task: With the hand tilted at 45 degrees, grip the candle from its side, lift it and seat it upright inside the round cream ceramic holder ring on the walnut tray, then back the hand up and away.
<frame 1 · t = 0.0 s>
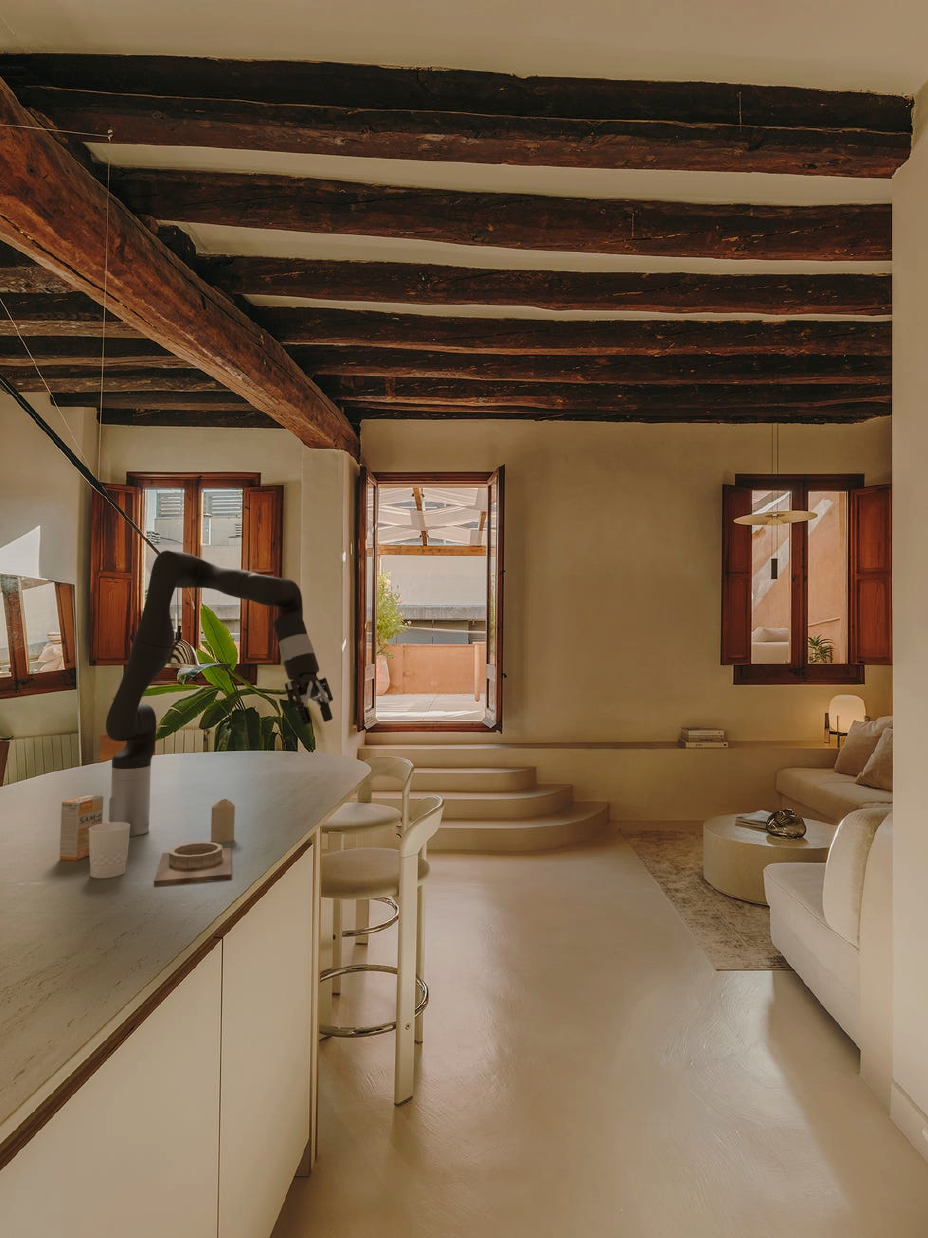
hand: (318, 722, 162), 31 cm above the counter, tool tilted 20°, fingers open, 8 cm apart
supplement box: (81, 856, 162), on the counter
candle: (222, 841, 176), on the counter
white cup: (108, 874, 149), on the counter
candle holder tray: (195, 867, 154), on the counter
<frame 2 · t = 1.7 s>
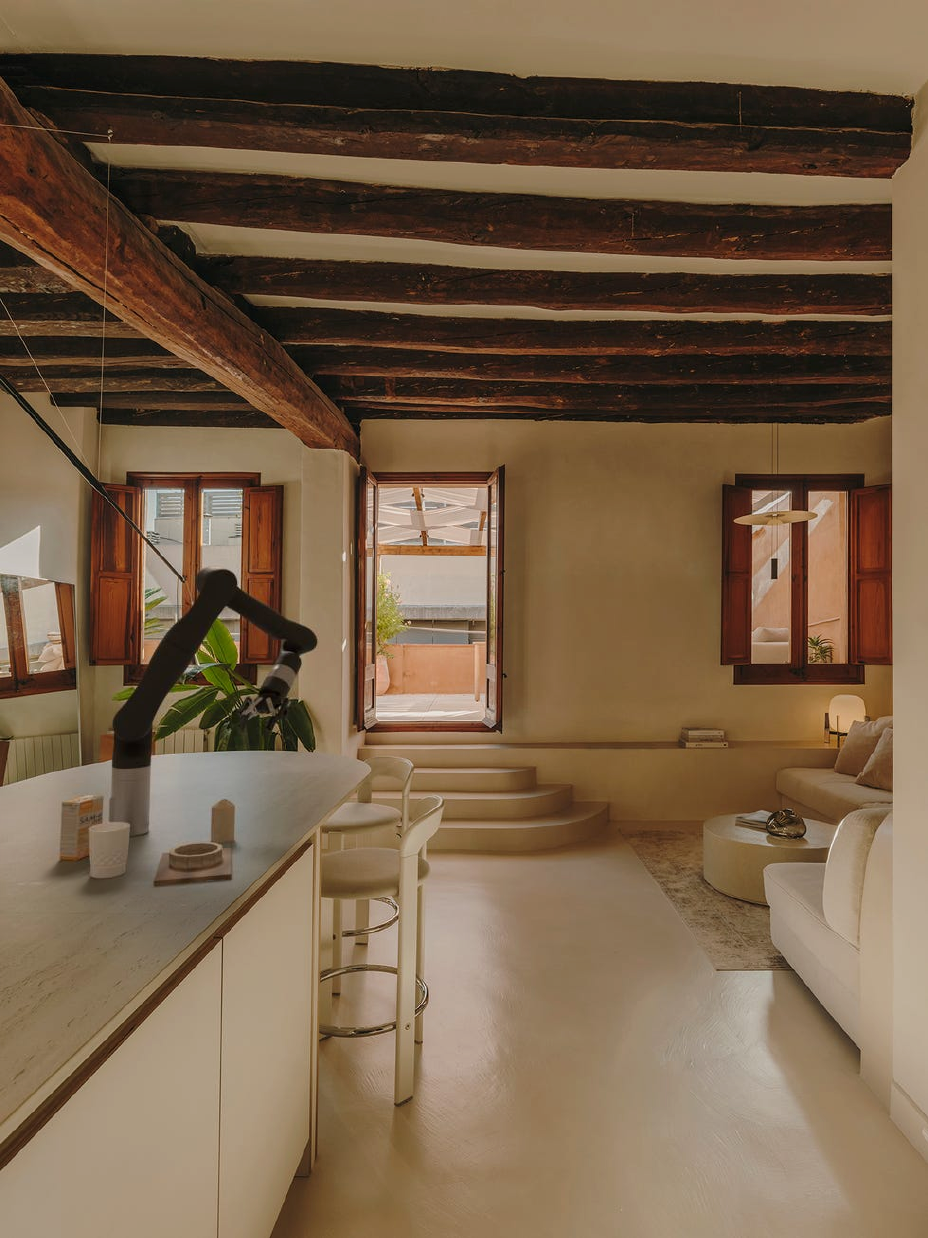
hand: (253, 729, 188), 26 cm above the counter, tool tilted 45°, fingers open, 8 cm apart
nothing on the counter moved.
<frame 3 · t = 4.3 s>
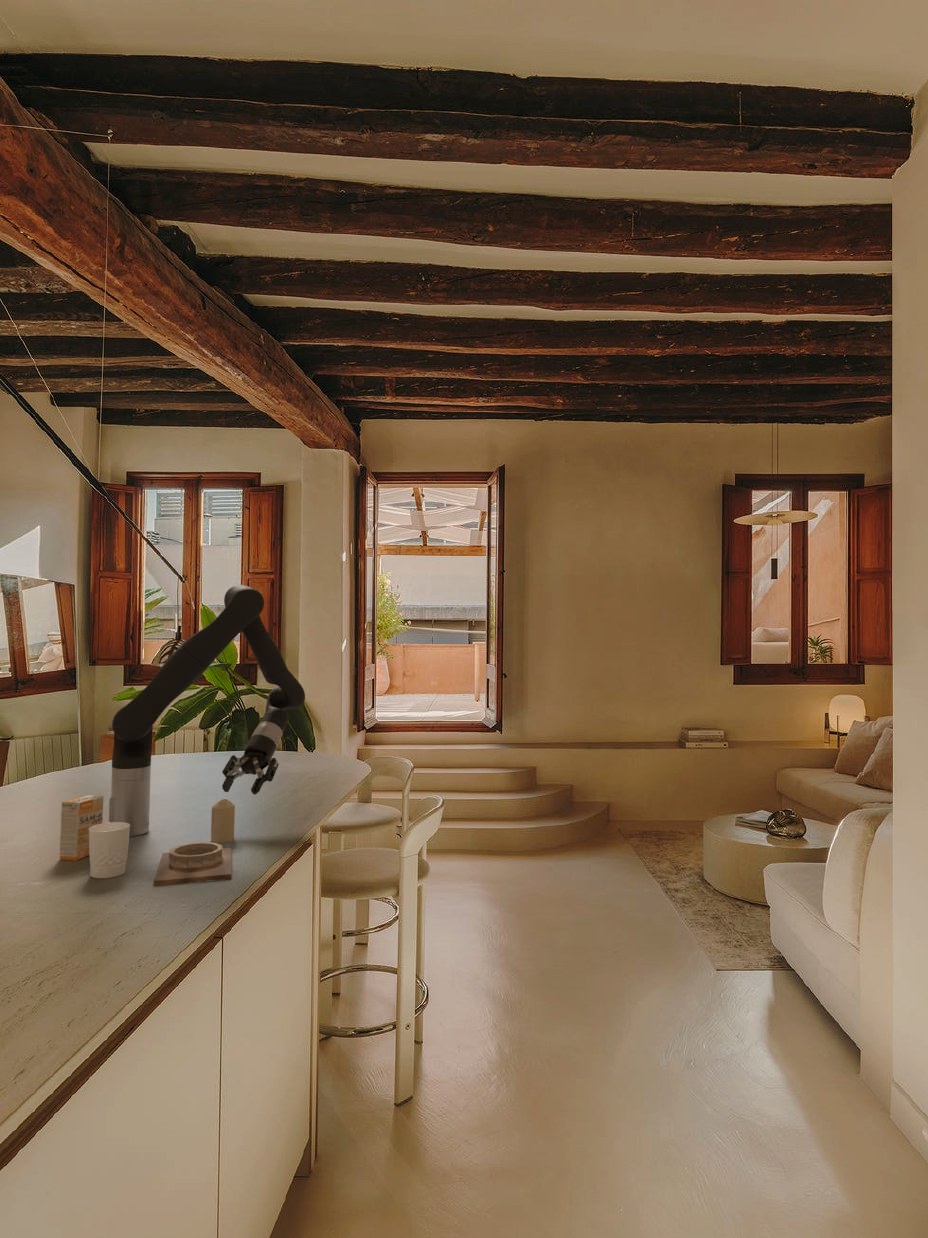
hand: (239, 791, 182), 11 cm above the counter, tool tilted 45°, fingers open, 8 cm apart
nothing on the counter moved.
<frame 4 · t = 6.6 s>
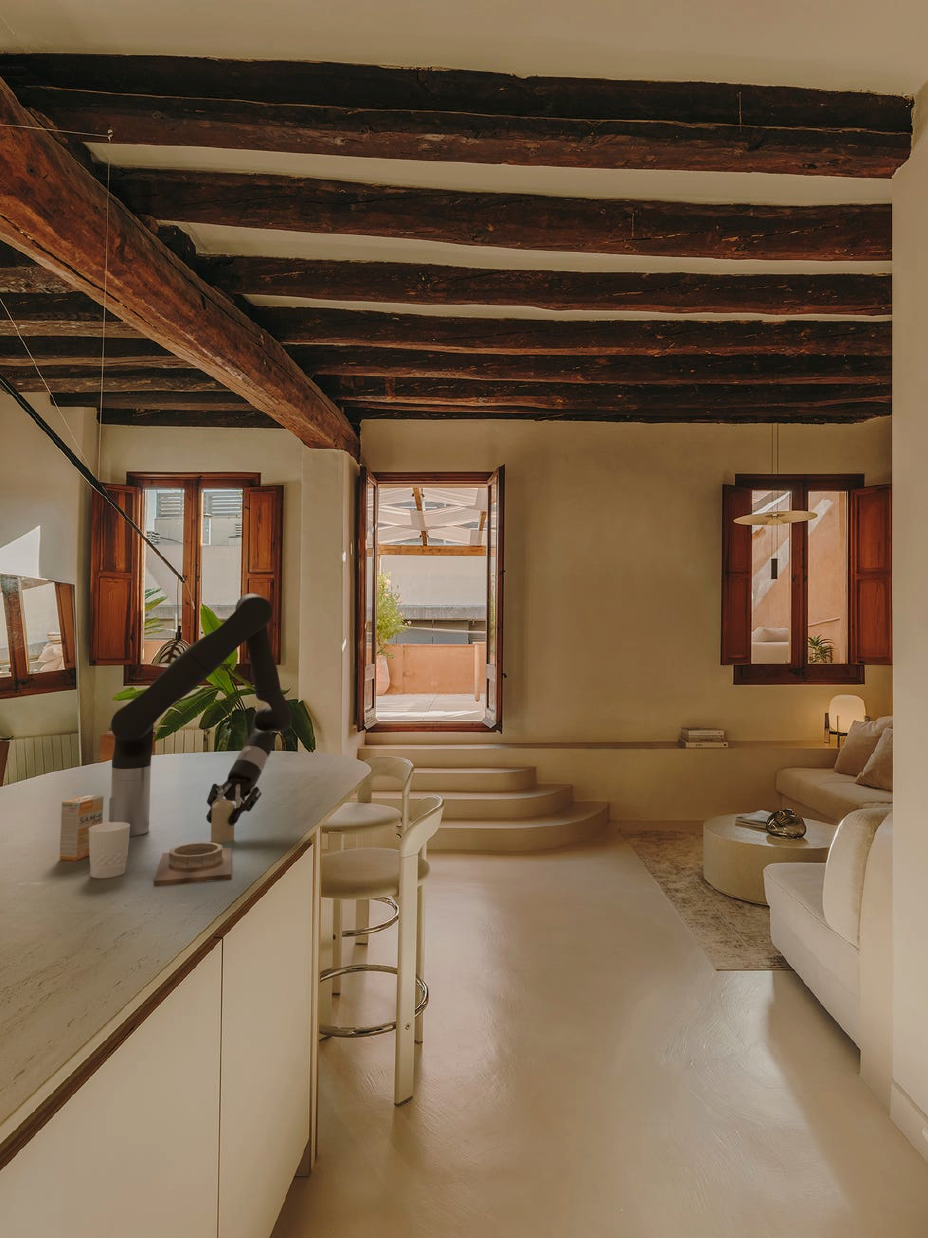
hand: (219, 822, 175), 5 cm above the counter, tool tilted 45°, fingers closed on candle, 5 cm apart
candle: (222, 841, 176), on the counter, touching gripper
everything else where it was.
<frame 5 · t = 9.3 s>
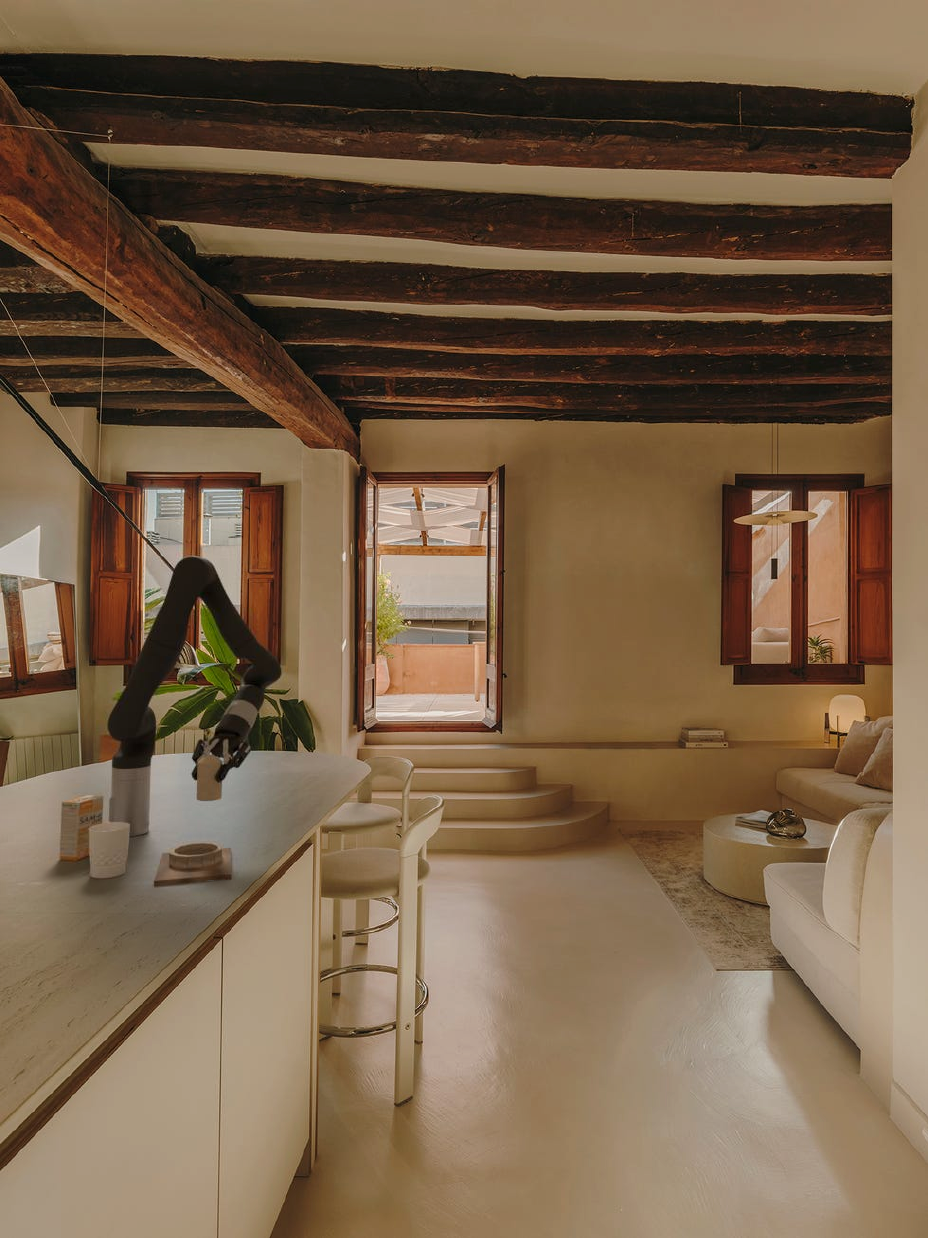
hand: (206, 779, 162), 18 cm above the counter, tool tilted 45°, fingers closed on candle, 5 cm apart
candle: (209, 799, 163), point 13 cm above the counter, touching gripper
everything else where it was.
when the fingers open (7 cm above the counter, at t = 12.3 s): candle drops 1 cm, resting on candle holder tray.
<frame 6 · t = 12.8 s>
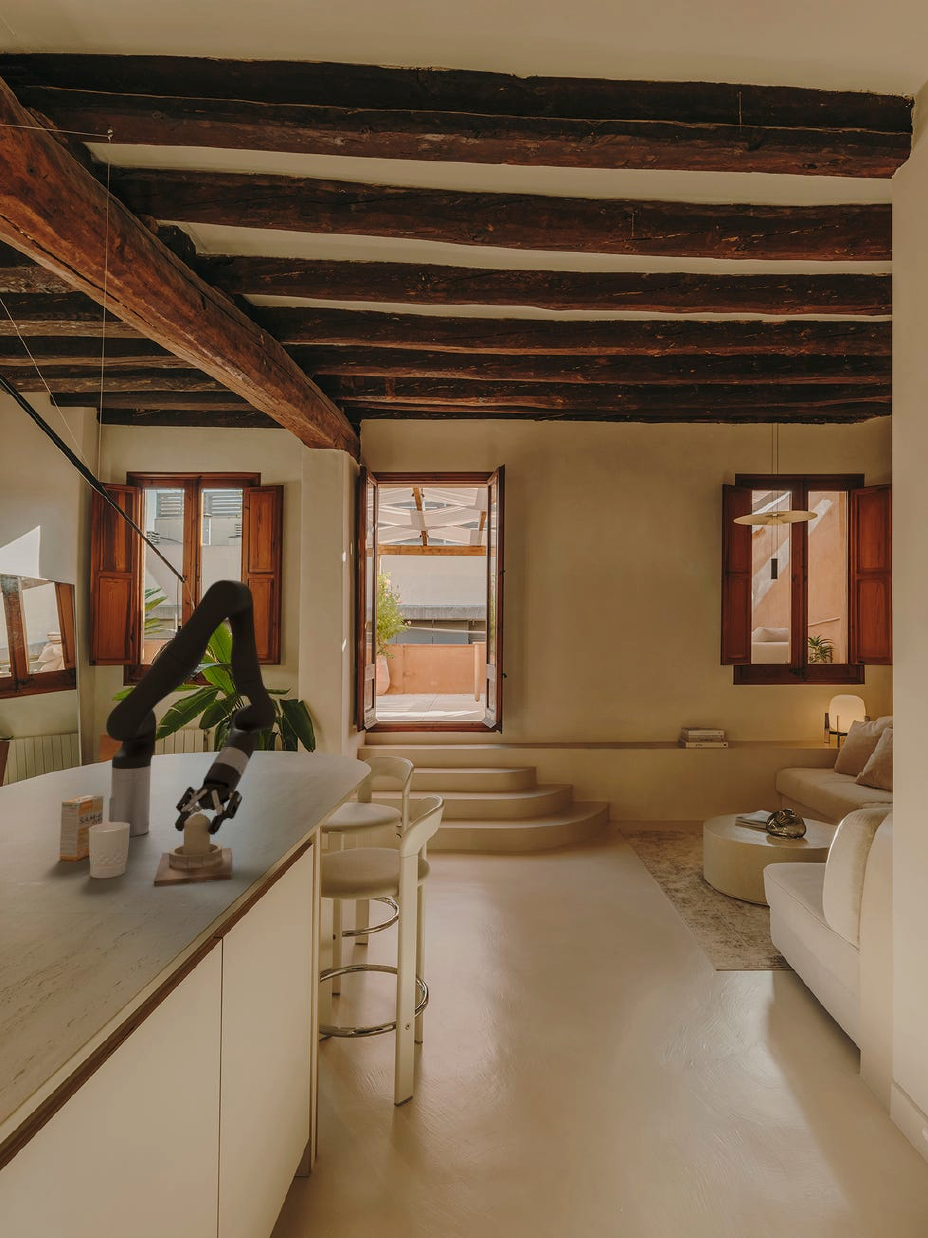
hand: (194, 831, 155), 8 cm above the counter, tool tilted 45°, fingers open, 8 cm apart
candle: (196, 860, 156), point 1 cm above the counter, touching candle holder tray
everything else where it was.
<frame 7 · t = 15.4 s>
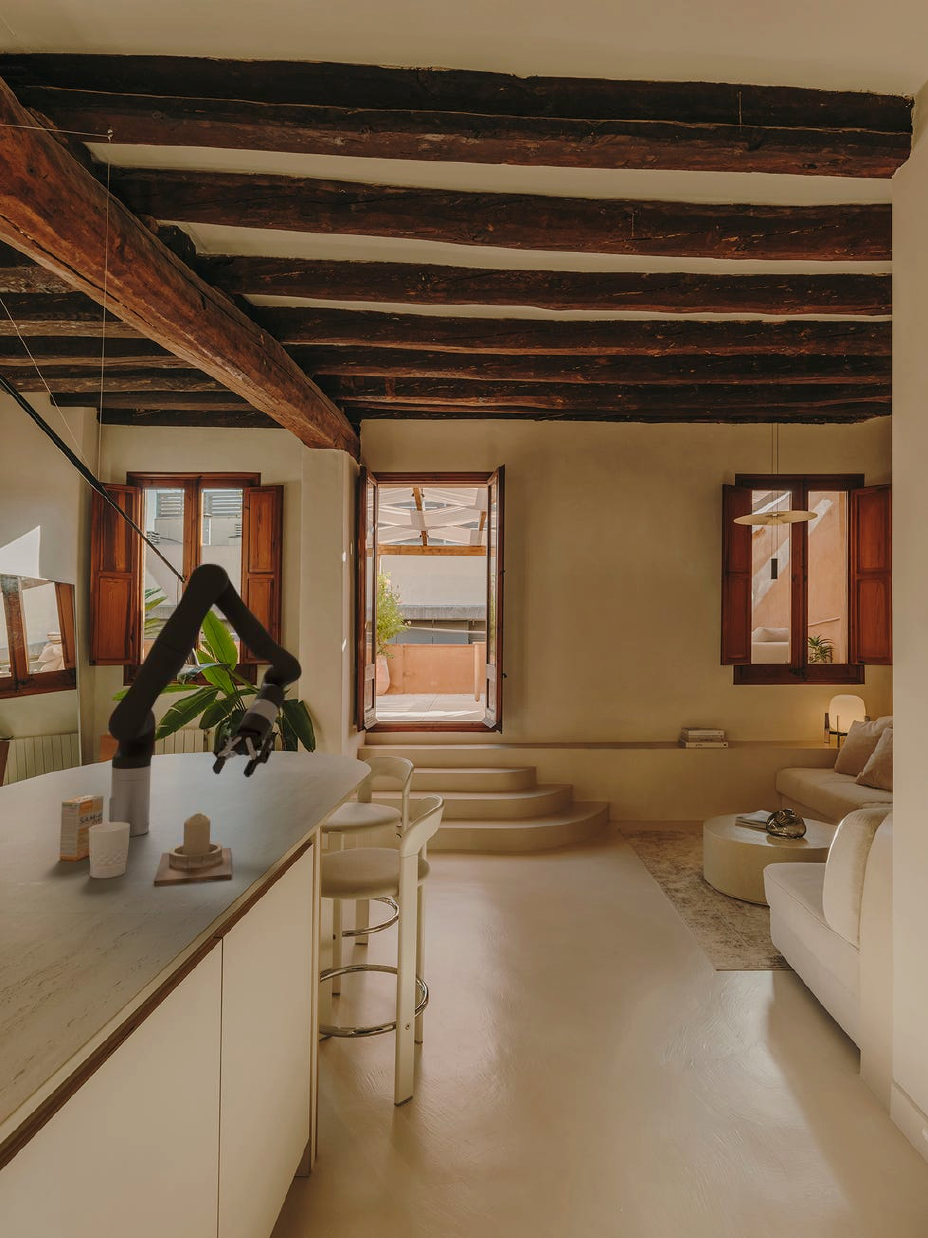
hand: (230, 773, 169), 18 cm above the counter, tool tilted 45°, fingers open, 8 cm apart
nothing on the counter moved.
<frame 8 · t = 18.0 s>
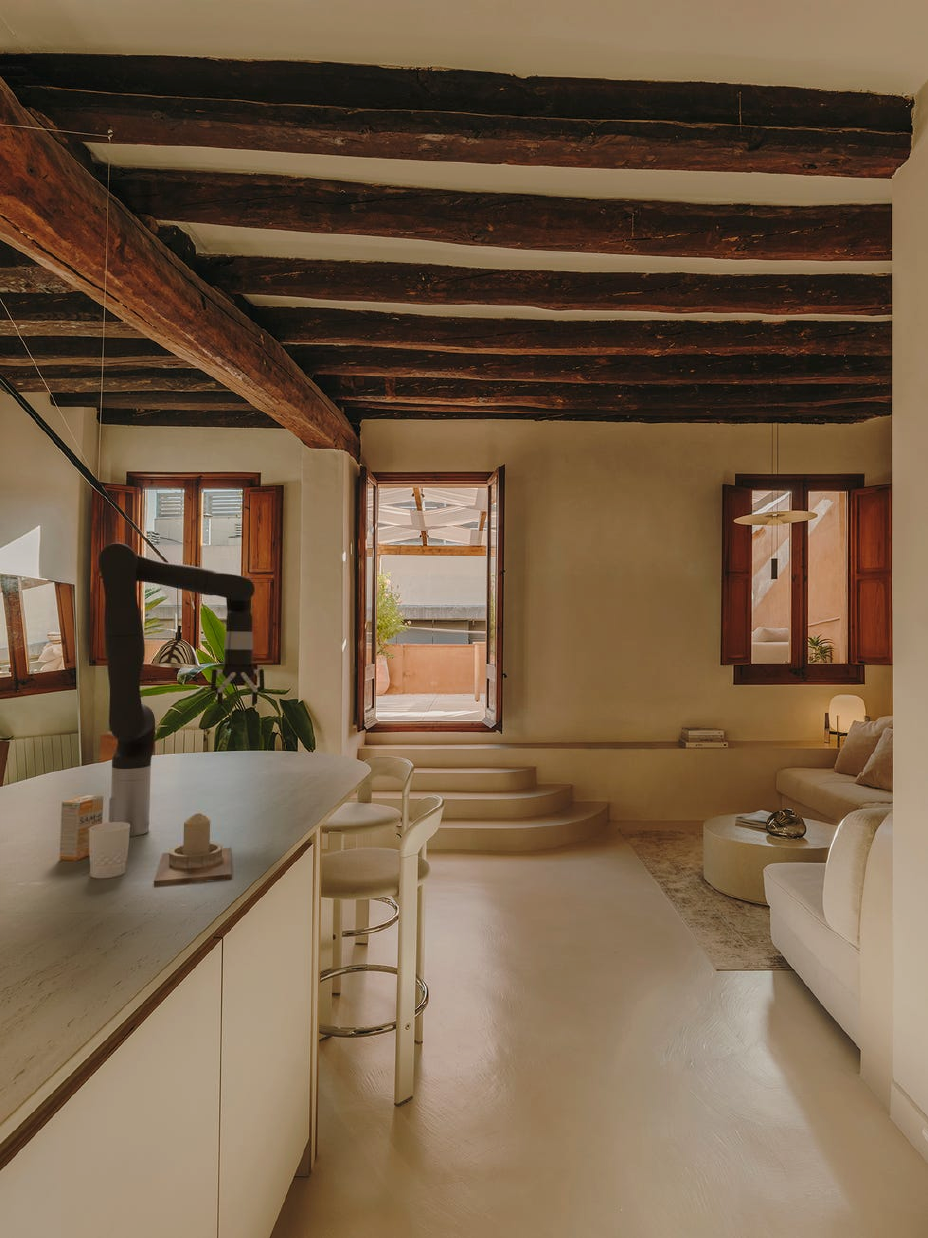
hand: (237, 706, 195), 32 cm above the counter, tool pointing down, fingers open, 8 cm apart
nothing on the counter moved.
at the end: candle 0.3 cm from the target spot on the candle holder tray, point 0.8 cm above the candle holder tray's base; candle tilted 0°; the gripper is holding nothing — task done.
